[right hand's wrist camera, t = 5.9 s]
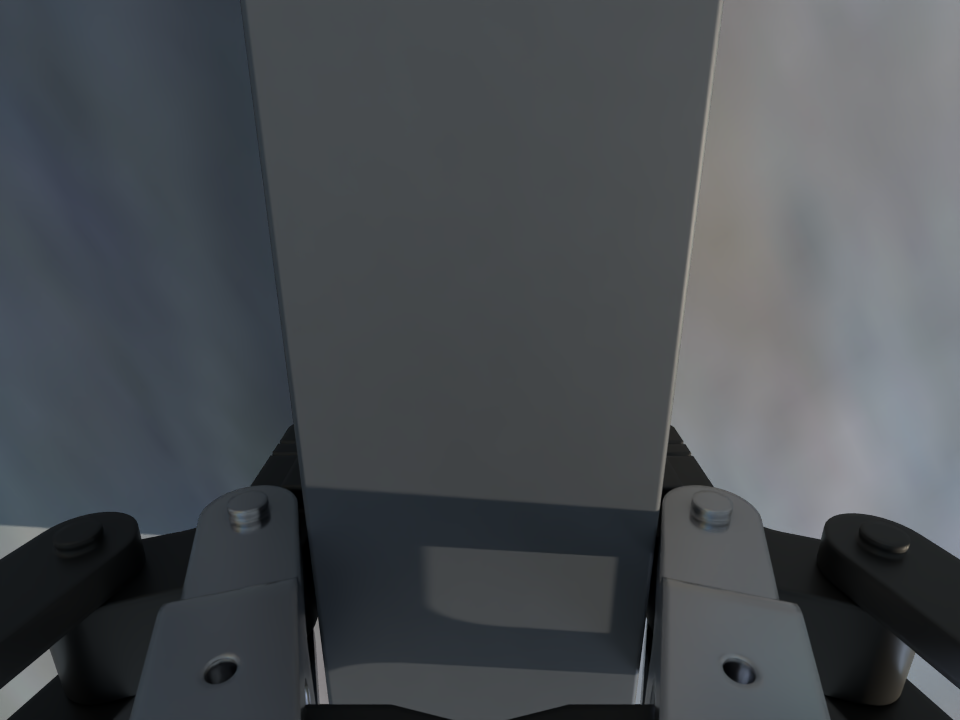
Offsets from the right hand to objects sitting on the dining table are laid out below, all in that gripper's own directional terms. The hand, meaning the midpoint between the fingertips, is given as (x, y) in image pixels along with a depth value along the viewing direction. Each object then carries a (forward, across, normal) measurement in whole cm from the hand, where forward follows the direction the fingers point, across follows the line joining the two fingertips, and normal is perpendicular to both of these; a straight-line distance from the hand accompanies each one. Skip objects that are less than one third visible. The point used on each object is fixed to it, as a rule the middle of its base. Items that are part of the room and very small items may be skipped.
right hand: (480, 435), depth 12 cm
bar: (+4, 0, -25) cm, 26 cm away
